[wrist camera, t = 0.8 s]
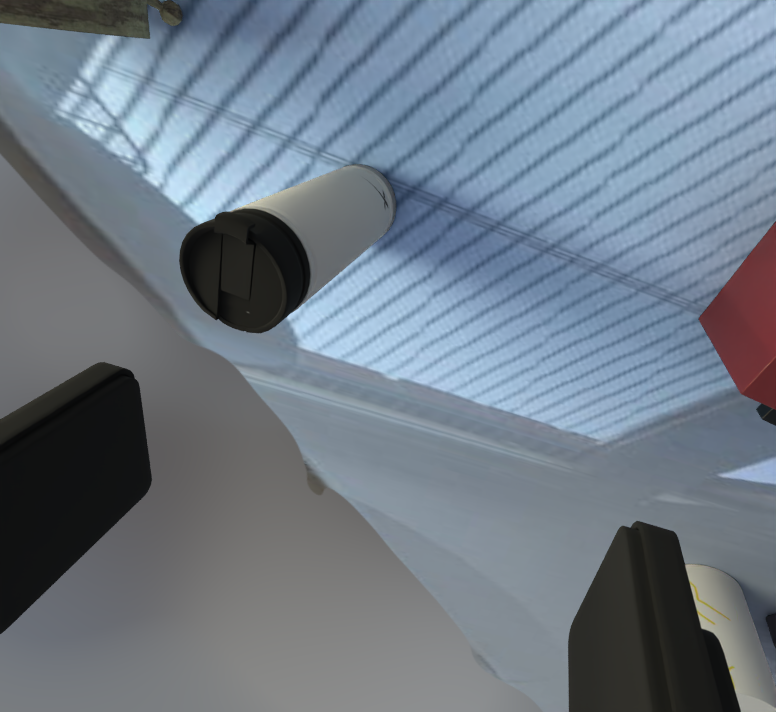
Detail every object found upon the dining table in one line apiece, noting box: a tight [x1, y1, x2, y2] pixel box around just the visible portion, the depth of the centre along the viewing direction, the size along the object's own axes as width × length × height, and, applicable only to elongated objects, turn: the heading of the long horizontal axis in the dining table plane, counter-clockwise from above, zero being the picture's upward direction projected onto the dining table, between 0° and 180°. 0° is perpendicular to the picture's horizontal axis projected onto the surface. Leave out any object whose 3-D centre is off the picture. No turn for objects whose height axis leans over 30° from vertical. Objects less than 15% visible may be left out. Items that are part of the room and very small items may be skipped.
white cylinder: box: [685, 564, 776, 712], centre depth 45 cm, size 8×8×12 cm
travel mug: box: [179, 164, 396, 333], centre depth 34 cm, size 6×7×20 cm
